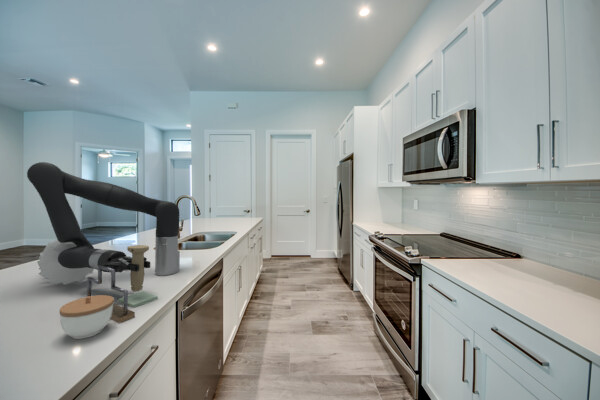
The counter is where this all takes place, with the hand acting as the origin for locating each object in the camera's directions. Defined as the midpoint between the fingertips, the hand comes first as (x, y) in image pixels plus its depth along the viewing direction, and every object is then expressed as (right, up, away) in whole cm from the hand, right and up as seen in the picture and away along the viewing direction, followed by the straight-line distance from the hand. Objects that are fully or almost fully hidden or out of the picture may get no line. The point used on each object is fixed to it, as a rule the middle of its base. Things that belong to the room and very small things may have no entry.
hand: (143, 266), depth 83 cm
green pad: (-3, -12, +1) cm, 12 cm away
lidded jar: (-3, -12, -19) cm, 23 cm away
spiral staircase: (-45, -11, +21) cm, 51 cm away
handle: (-3, -9, +1) cm, 9 cm away
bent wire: (-8, -12, -6) cm, 16 cm away
